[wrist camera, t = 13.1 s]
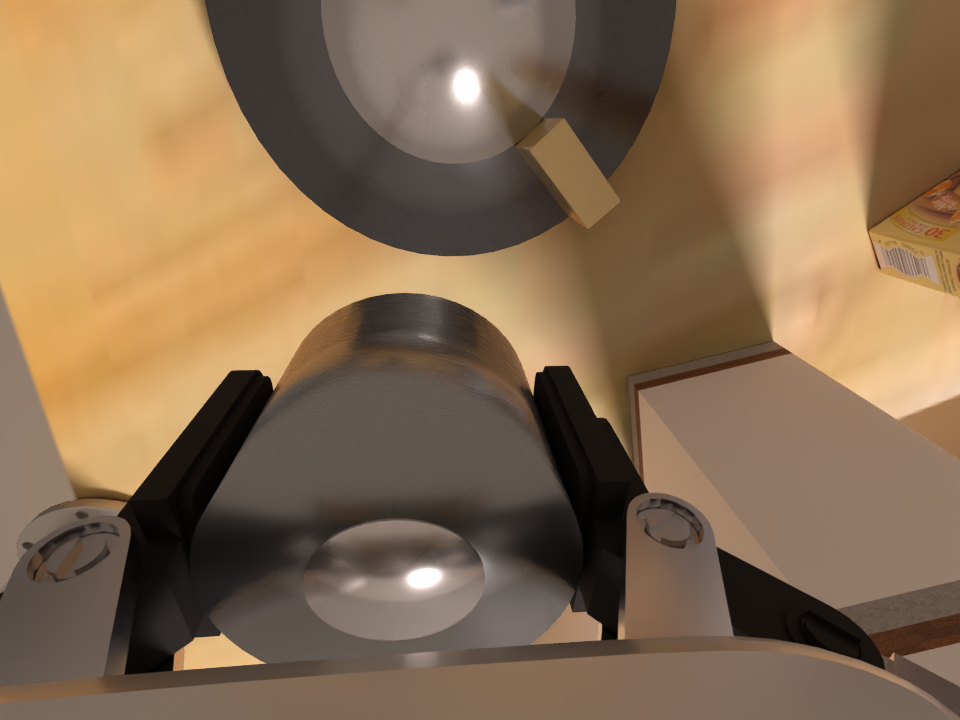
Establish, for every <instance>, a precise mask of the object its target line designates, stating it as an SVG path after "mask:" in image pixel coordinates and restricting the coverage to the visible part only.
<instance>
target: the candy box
mask: <svg viewBox="0 0 960 720" xmlns="http://www.w3.org/2000/svg"><path fill="white" fill-rule="evenodd" d="M869 234H870V237H871V240H872V243H873V246H874V249H875V252H876V255H877V258H878V261H879V265H880V268H881V271H882V273H884V274H886V275H889V276H893V277H896V278H899V279H902V280H905V281H908V282H912V283H915V284H918V285H921V286H924V287H927V288H930V289H934V290H937V291H940V292H943V293H946V294H950V295H952V296H955V297H959V298H960V171H959V172H957V173H956V174H954V175H953V176H951V177H950V178H948V179H947V180H945V181H943V182H942V183H940V184H938V185H937V186H935V187H934V188H932V189H931V190H929V191H928V192H926V193H925V194H923V195H922V196H920V197H919V198H917V199H916V200H914V201H913V202H911V203H910V204H908V205H907V206H905V207H904V208H902V209H900V210H899V211H897V212H896V213H894V214H893V215H891V216H890V217H888V218H887V219H885V220H884V221H883V222H881V223H879V224H878V225H876V226H875V227H873V228H872V229H870V230H869Z"/></svg>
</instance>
